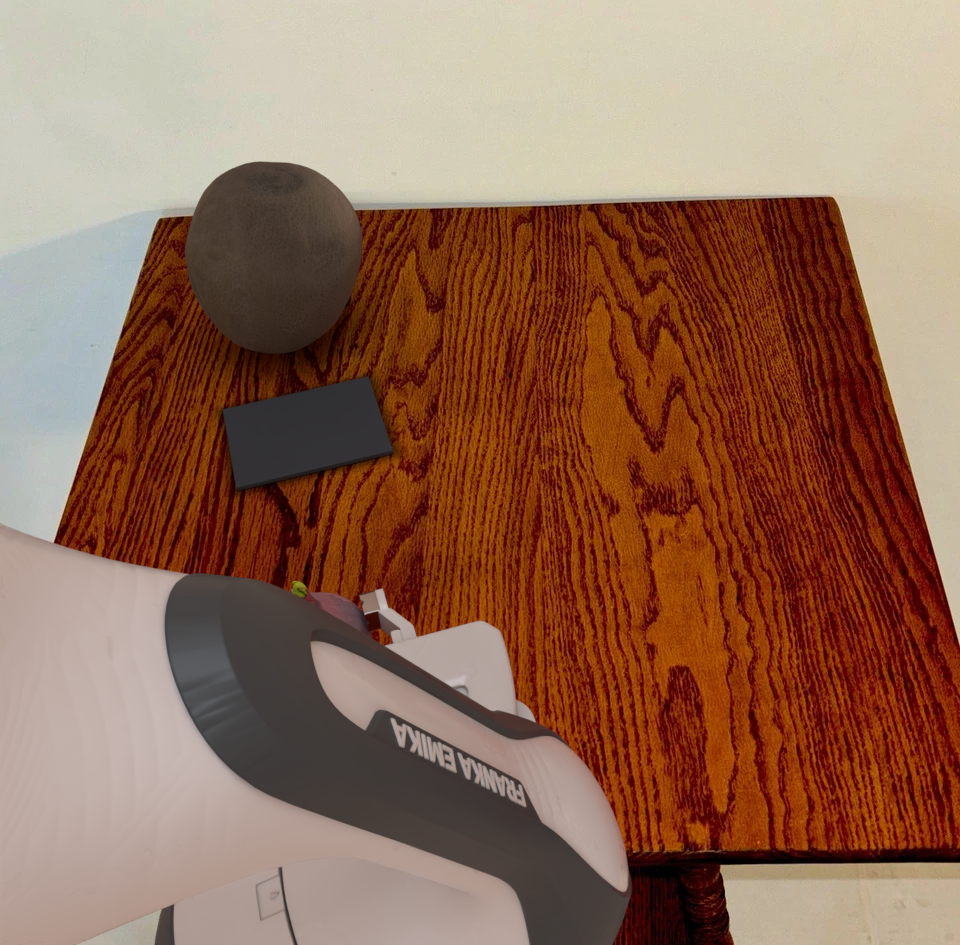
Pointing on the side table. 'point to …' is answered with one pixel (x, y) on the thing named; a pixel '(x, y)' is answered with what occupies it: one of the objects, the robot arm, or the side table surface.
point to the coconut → (273, 255)
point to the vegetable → (334, 606)
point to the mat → (305, 433)
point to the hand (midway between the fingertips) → (312, 612)
